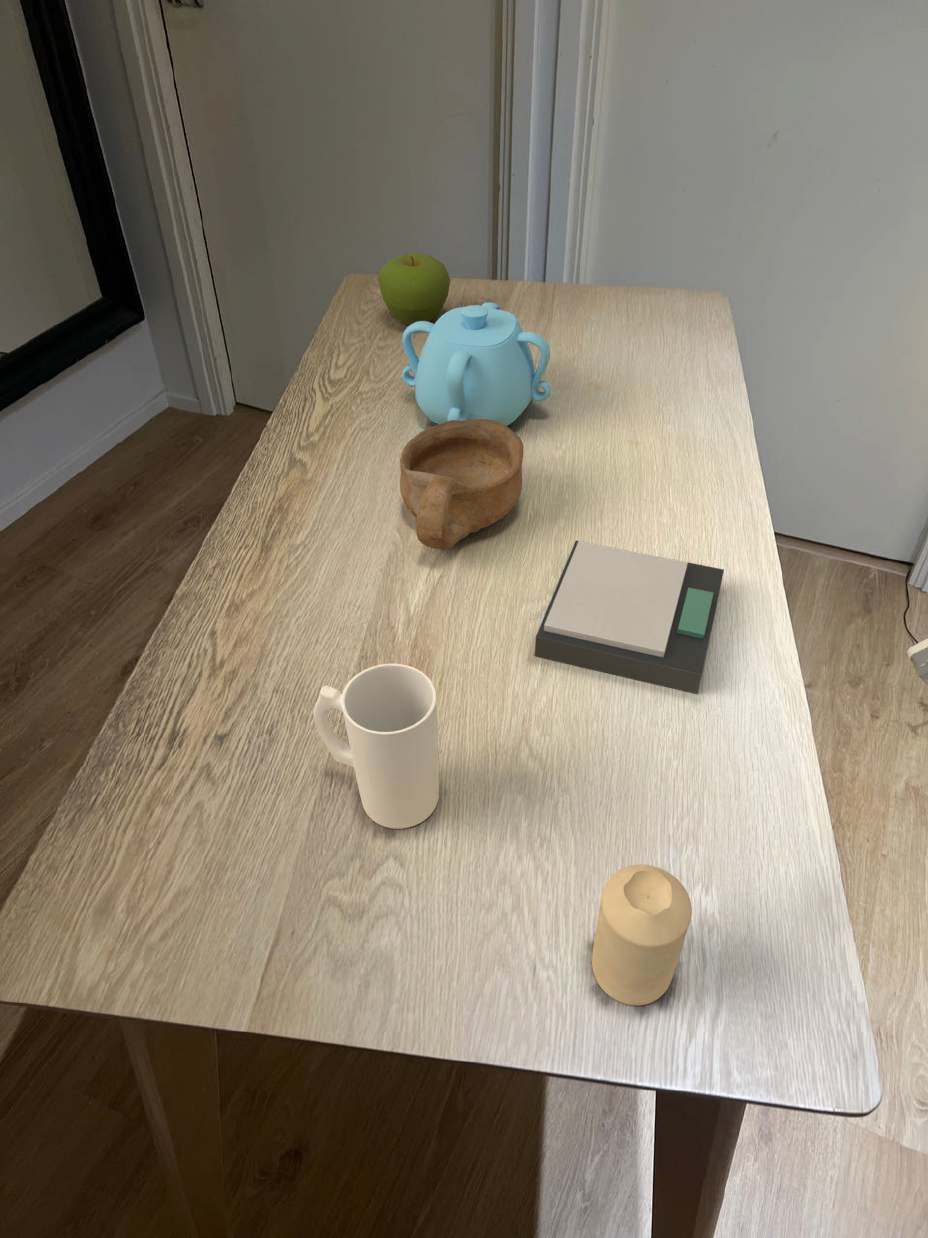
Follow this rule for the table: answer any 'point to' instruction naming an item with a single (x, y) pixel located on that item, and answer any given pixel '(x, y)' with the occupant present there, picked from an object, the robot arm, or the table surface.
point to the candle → (640, 933)
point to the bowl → (460, 478)
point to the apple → (414, 287)
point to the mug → (387, 741)
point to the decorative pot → (475, 366)
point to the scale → (632, 616)
